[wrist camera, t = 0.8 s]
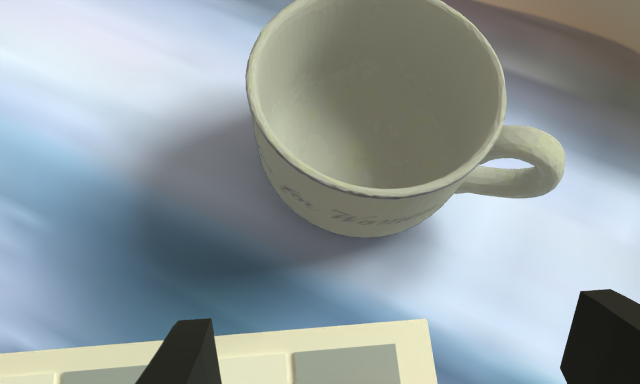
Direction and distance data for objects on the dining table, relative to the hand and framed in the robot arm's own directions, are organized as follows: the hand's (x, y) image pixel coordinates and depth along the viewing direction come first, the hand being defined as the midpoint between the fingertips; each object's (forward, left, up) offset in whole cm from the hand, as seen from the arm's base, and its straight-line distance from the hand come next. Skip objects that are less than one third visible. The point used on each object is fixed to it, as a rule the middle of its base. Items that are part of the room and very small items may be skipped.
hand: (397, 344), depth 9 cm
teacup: (+10, -3, -14) cm, 18 cm away
